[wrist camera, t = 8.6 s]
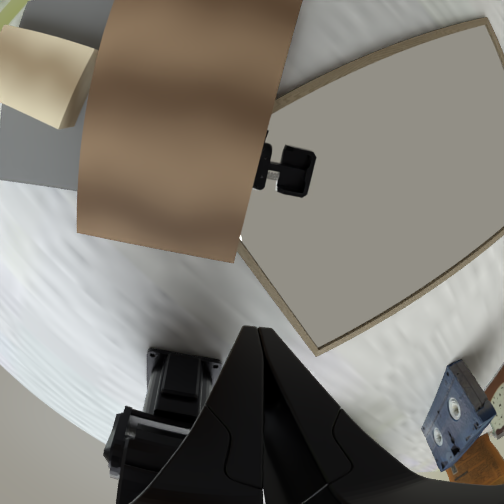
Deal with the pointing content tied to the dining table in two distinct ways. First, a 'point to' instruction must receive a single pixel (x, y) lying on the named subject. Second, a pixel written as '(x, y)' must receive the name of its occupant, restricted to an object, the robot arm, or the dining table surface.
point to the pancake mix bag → (479, 465)
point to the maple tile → (44, 75)
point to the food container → (497, 402)
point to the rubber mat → (39, 133)
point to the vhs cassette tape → (456, 415)
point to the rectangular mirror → (379, 182)
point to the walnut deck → (180, 121)
